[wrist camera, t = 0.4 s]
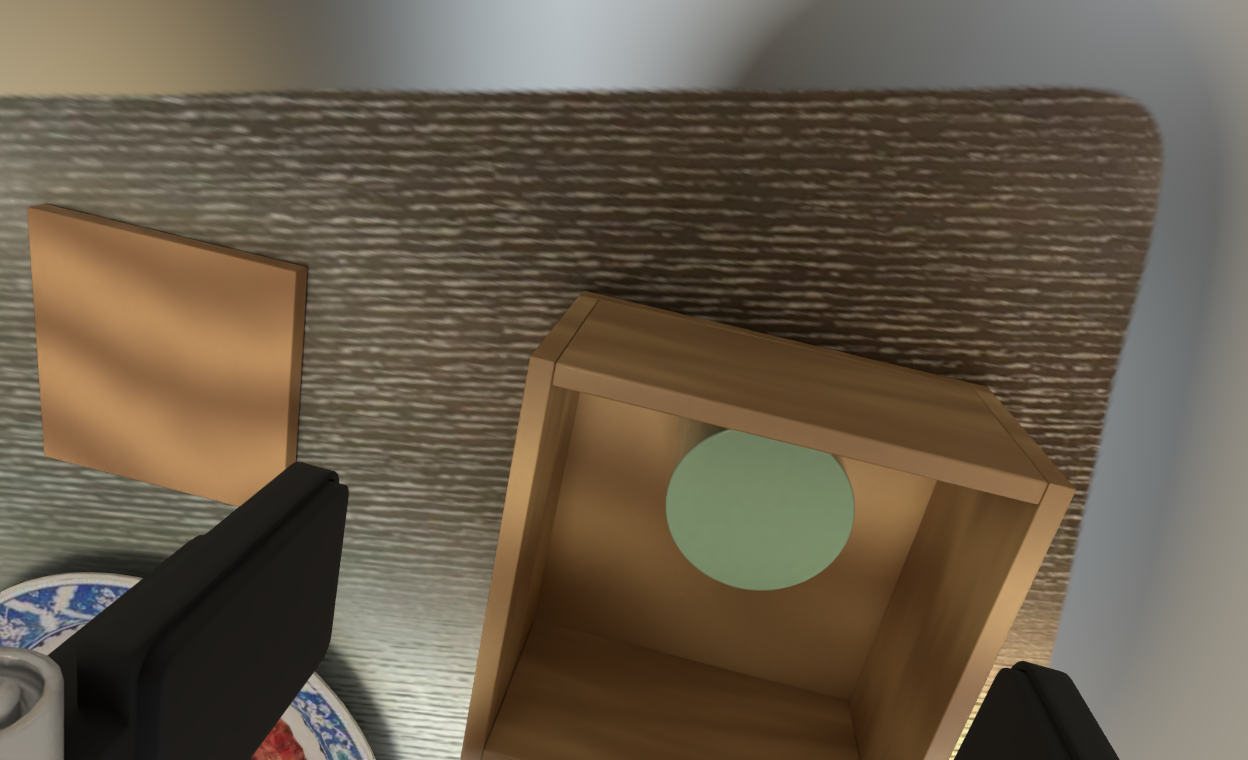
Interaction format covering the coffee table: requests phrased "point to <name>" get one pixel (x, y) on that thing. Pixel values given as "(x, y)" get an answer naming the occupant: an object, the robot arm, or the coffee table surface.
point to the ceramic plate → (62, 604)
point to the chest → (733, 617)
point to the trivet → (165, 354)
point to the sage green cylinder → (756, 507)
